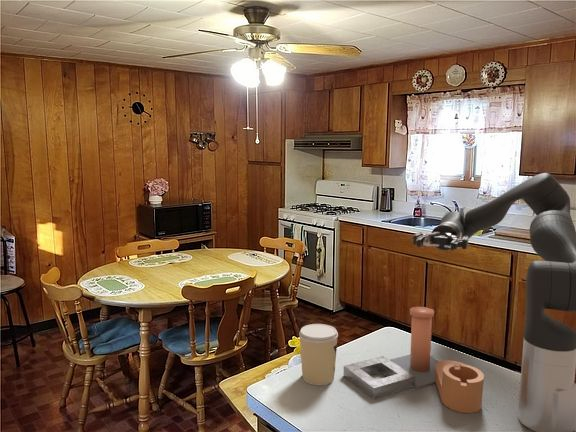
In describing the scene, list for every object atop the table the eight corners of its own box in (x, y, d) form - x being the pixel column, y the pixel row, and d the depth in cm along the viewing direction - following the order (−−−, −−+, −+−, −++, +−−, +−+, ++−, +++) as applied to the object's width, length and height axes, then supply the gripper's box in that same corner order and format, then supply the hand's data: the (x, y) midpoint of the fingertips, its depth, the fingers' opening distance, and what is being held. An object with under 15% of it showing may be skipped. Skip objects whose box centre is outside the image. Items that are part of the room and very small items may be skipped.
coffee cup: (344, 383, 108) (344, 334, 107) (307, 390, 105) (308, 340, 104) (327, 366, 117) (328, 321, 115) (293, 372, 114) (293, 326, 112)
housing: (414, 386, 107) (415, 376, 106) (373, 398, 101) (373, 388, 101) (382, 365, 117) (382, 355, 117) (343, 375, 112) (343, 365, 112)
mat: (461, 374, 112) (461, 373, 112) (417, 388, 106) (418, 386, 106) (421, 352, 124) (421, 351, 124) (380, 363, 118) (380, 362, 118)
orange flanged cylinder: (436, 369, 114) (439, 312, 112) (419, 374, 111) (421, 316, 109) (420, 360, 119) (422, 305, 117) (403, 365, 116) (405, 308, 114)
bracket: (485, 414, 95) (488, 384, 94) (444, 410, 96) (446, 380, 95) (467, 372, 113) (469, 346, 111) (432, 369, 114) (433, 343, 113)
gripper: (422, 221, 137) (408, 228, 123) (473, 224, 130) (464, 233, 116) (422, 245, 138) (407, 256, 124) (472, 250, 131) (463, 261, 117)
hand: (435, 245), depth 120 cm, fingers open, 8 cm apart
